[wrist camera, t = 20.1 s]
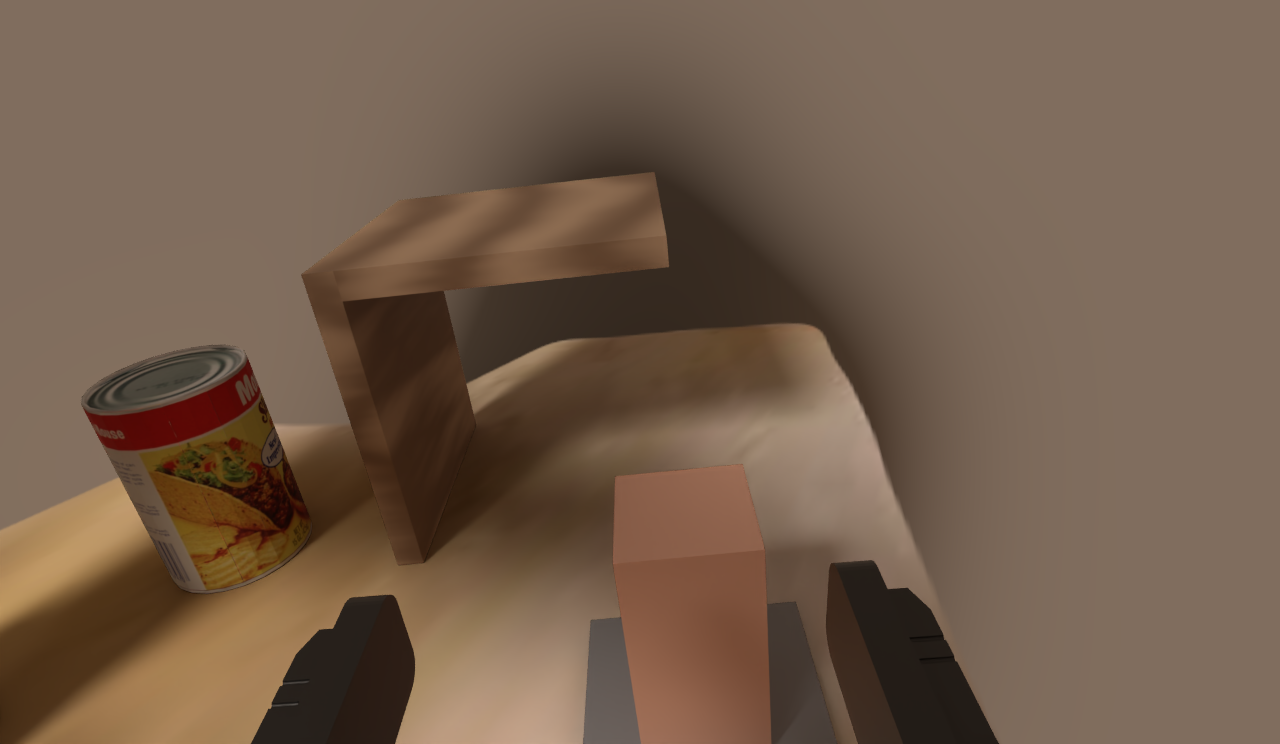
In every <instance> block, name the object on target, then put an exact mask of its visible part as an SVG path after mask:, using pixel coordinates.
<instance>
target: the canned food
mask: <svg viewBox="0 0 1280 744" xmlns="http://www.w3.org/2000/svg"><path fill="white" fill-rule="evenodd" d="M81 405H82V407H83V409H84V411H85V413H86V415H87V416H88V419H89V420H90V422H91V424H92V426H93V428H94V430H95V432H96V434H97V436H98V438H99V440H100V441H101V443H102V445H103V447H104V449H105V451H106V453H107V455H108V457H109V458H110V460H111V463H112V464H113V466H114V468H115V470H116V472H117V474H118V476H119V478H120V480H121V482H122V484H123V485H124V487H125V489H126V491H127V493H128V495H129V497H130V499H131V501H132V503H133V505H134V507H135V508H136V510H137V512H138V514H139V516H140V518H141V520H142V522H143V524H144V526H145V528H146V529H147V531H148V533H149V535H150V537H151V539H152V541H153V543H154V545H155V547H156V549H157V550H158V552H159V554H160V556H161V558H162V560H163V562H164V564H165V566H166V568H167V570H168V571H169V573H170V575H171V577H172V579H173V581H174V582H175V583H176V584H177V585H178V587H179V588H180V589H183V590H186V591H189V592H191V593H206V594H208V593H215V592H222V591H227V590H231V589H234V588H237V587H241V586H244V585H247V584H249V583H251V582H254V581H256V580H258V579H260V578H263V577H265V576H266V575H268V574H270V573H271V572H273V571H275V570H276V569H278V568H280V567H281V566H283V565H284V564H285V563H286V562H288V561H289V560H290V559H291V558H293V557H294V556H295V555H296V554H297V553H298V552H299V551H300V549H301V548H302V547H303V546H304V545H305V544H306V542H307V540H308V538H309V536H310V534H311V529H312V522H311V519H310V516H309V514H308V511H307V509H306V506H305V504H304V501H303V499H302V496H301V493H300V491H299V488H298V486H297V483H296V481H295V478H294V475H293V473H292V470H291V468H290V465H289V463H288V460H287V457H286V455H285V452H284V450H283V447H282V445H281V442H280V439H279V437H278V434H277V432H276V429H275V427H274V424H273V422H272V419H271V416H270V414H269V411H268V409H267V406H266V404H265V401H264V398H263V396H262V393H261V391H260V388H259V386H258V383H257V381H256V378H255V375H254V373H253V370H252V368H251V365H250V363H249V360H248V358H247V355H246V353H245V351H244V350H243V349H241V348H238V347H236V346H230V345H207V346H199V347H192V348H187V349H182V350H177V351H173V352H169V353H165V354H162V355H158V356H155V357H152V358H149V359H146V360H143V361H141V362H137V363H135V364H132V365H130V366H128V367H125V368H123V369H121V370H118V371H116V372H114V373H112V374H111V375H109V376H107V377H105V378H103V379H101V380H100V381H99V382H97V383H96V384H94V385H93V386H92V387H90V388H89V389H88V390H87V392H86V393H85V394H84V395H83V396H82V401H81Z"/></svg>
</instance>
